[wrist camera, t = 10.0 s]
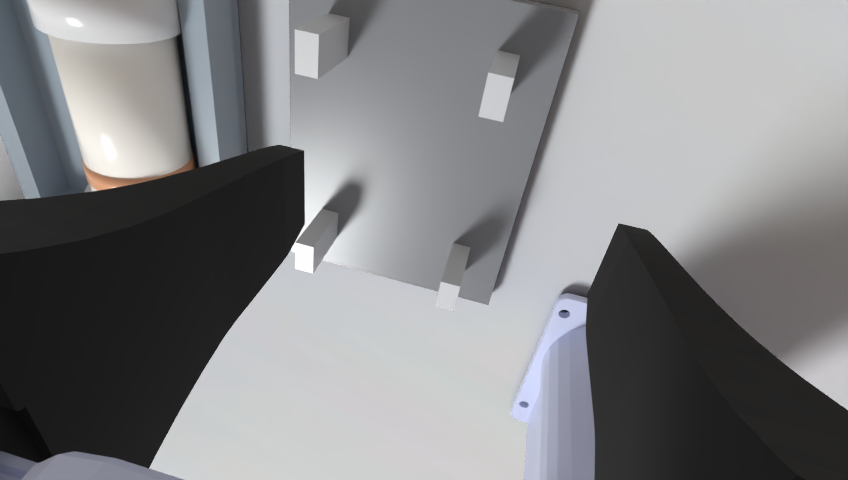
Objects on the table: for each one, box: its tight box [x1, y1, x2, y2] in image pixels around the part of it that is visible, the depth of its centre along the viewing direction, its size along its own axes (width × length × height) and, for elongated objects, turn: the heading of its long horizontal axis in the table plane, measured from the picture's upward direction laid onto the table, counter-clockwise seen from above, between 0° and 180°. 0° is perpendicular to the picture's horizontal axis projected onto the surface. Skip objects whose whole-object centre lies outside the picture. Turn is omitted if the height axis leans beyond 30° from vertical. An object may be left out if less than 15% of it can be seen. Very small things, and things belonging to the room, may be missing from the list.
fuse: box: [26, 0, 196, 192], centre depth 20 cm, size 10×5×5 cm
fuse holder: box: [289, 0, 579, 312], centre depth 19 cm, size 13×10×4 cm
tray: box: [0, 0, 247, 199], centre depth 21 cm, size 15×11×2 cm
